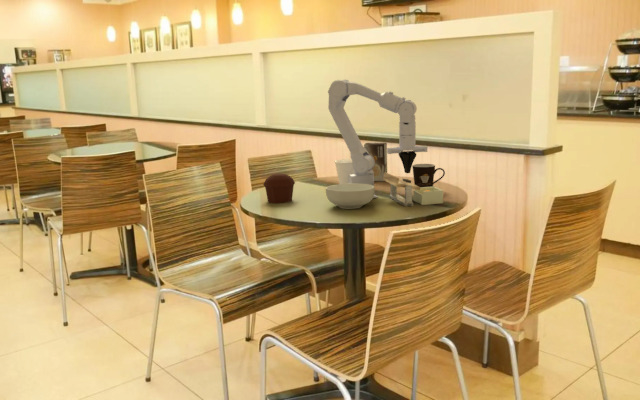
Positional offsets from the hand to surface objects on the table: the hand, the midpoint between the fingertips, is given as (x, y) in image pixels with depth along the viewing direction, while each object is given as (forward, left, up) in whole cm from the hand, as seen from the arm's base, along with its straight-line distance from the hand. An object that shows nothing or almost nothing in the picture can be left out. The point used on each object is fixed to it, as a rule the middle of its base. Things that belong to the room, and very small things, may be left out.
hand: (407, 172), depth 211 cm
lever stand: (-4, -4, -10) cm, 11 cm away
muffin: (-45, +13, -10) cm, 48 cm away
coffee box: (+1, +42, -10) cm, 43 cm away
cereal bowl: (-23, -6, -10) cm, 26 cm away
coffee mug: (+12, +10, -10) cm, 18 cm away
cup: (-15, +30, -10) cm, 35 cm away
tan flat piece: (-4, -4, -4) cm, 7 cm away
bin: (+5, -8, -10) cm, 13 cm away
